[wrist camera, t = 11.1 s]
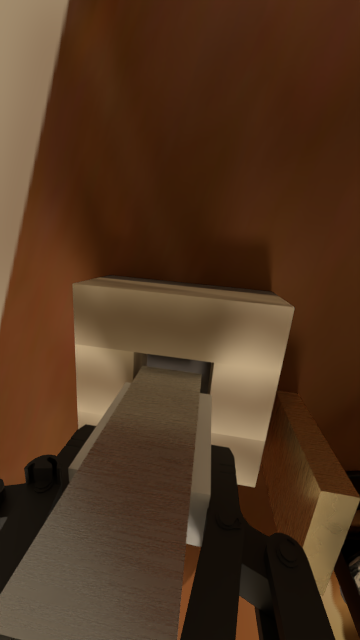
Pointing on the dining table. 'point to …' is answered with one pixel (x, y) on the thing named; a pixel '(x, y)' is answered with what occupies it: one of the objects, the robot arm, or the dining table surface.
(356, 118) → the dining table surface
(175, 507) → the square bit
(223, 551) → the robot arm
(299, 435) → the beige rectangular slab
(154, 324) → the bore block
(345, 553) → the french press
